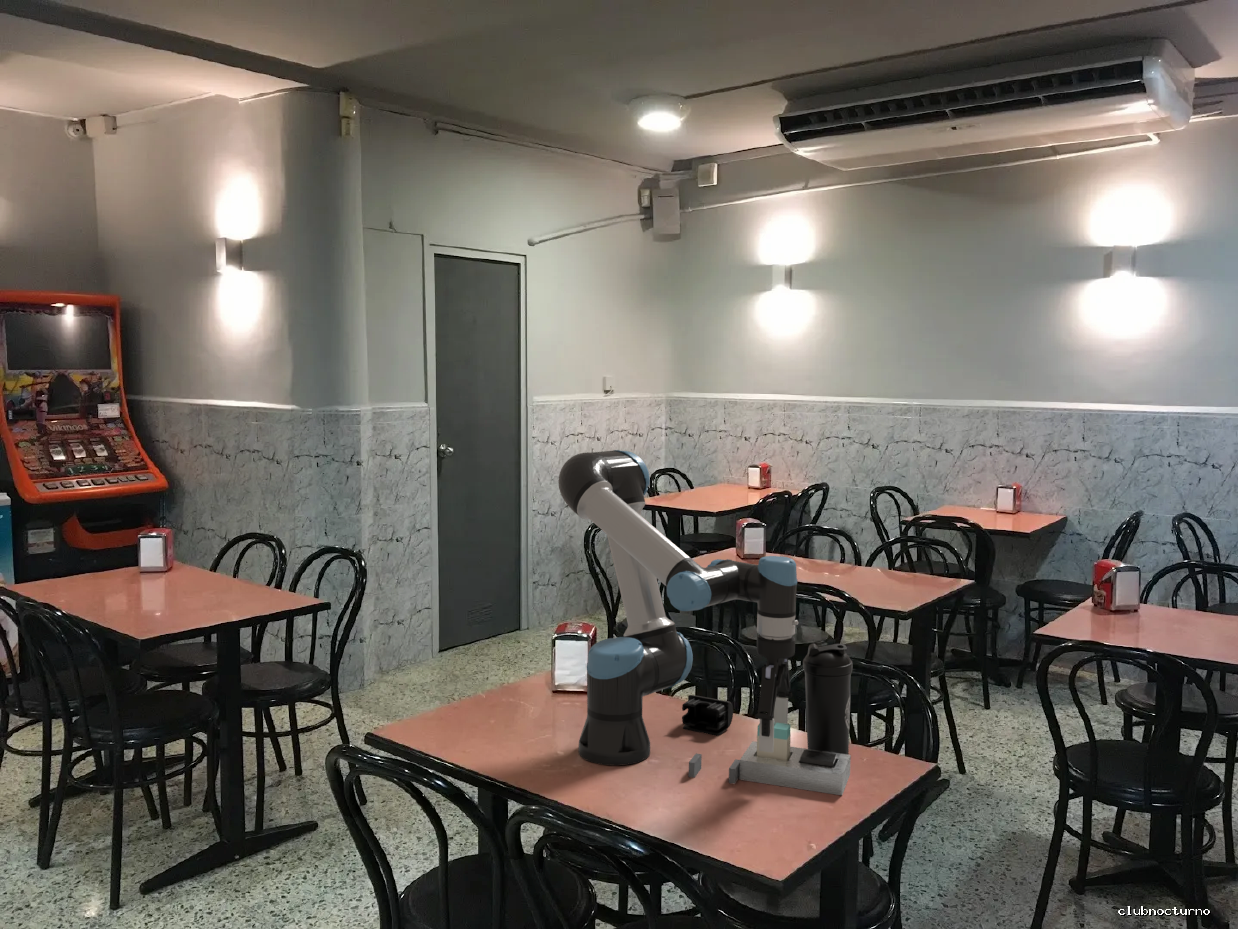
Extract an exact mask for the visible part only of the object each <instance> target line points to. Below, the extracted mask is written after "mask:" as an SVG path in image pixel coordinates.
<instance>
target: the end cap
mask: <svg viewBox="0 0 1238 929" xmlns="http://www.w3.org/2000/svg"><path fill="white" fill-rule="evenodd" d="M681 709H682V711H683V712H684V711H686V710H687V712H686V713H685V714H684V715H682V717H681V722H682V724H683V726H682V729H683V730H686V731H689V732H690V731H691V732H695V733H699V734H706V735H711V736H715V737H720V736H721V735H723V734H724V733H726V731H727V730H728V729H729V728H730V726H731V724H732V722H733V719H734V718H733V717H734V707H733V703H732V702H731V701H727V700H722V699H716V698H711V697H705V696H702V695H701V696H700V695H695V694H688V696H687V700H686V702H683V704H682V707H681Z"/></svg>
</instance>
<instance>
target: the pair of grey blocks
mask: <svg viewBox="0 0 1238 929" xmlns="http://www.w3.org/2000/svg"><path fill="white" fill-rule="evenodd" d="M702 758H703V754H702V753H697V752H696V753H695V754H694V755H693V756H692V757H691V759H690V760H689V761H688V778H696V776H697V775H698V774H699V773H700V771H701V770H702V761H703V760H702ZM739 773H740V759H736V758H735V759H734V761H733V762H732V763H731V765H730V767H729V768H728V784H733V785H735V784H736V783H737V781H738V780H739Z"/></svg>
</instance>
